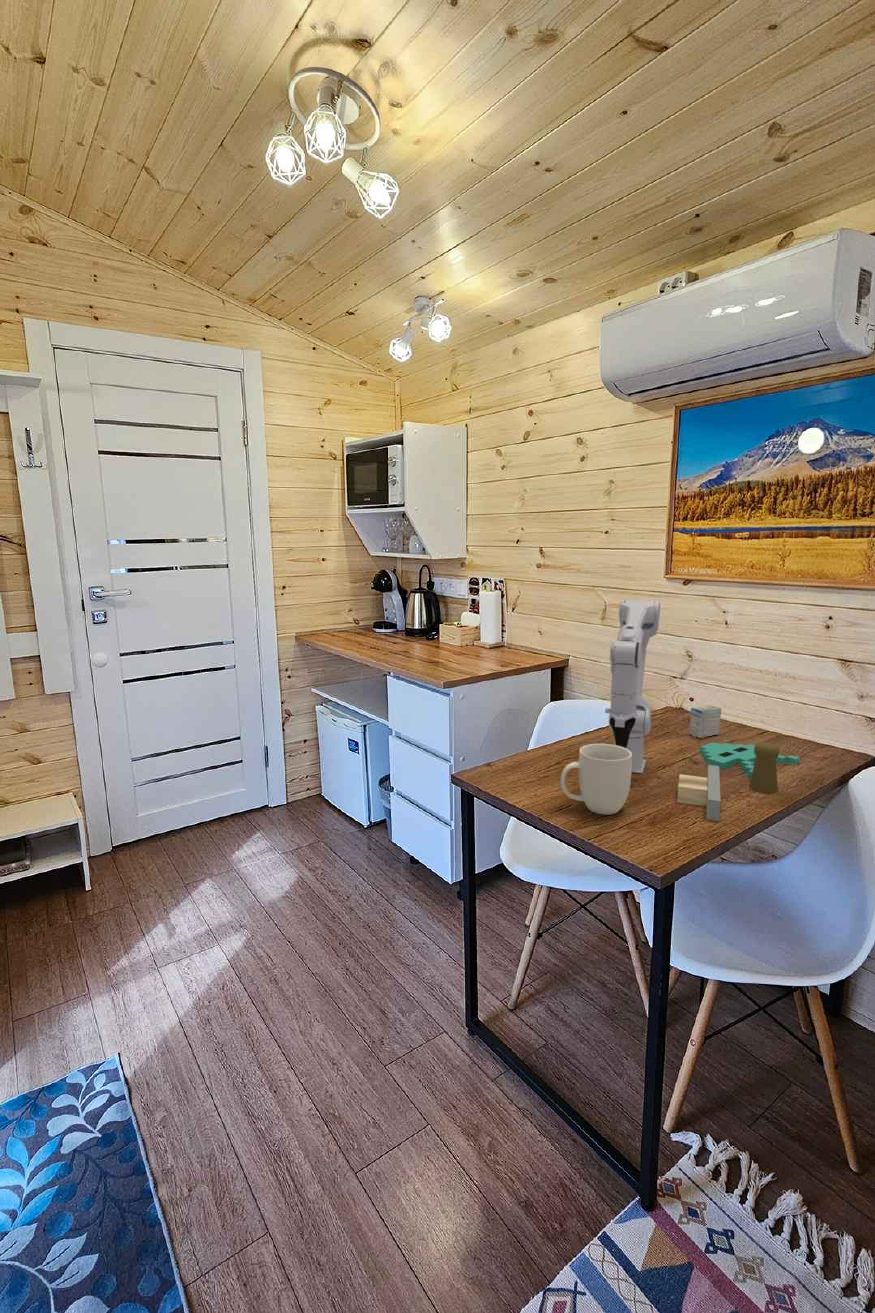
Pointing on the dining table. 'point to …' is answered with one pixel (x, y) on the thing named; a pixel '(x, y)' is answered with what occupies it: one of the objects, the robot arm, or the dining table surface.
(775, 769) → the cork
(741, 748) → the alien figure
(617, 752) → the mug
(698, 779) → the maple block
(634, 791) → the dining table surface
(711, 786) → the board
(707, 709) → the medicine box
